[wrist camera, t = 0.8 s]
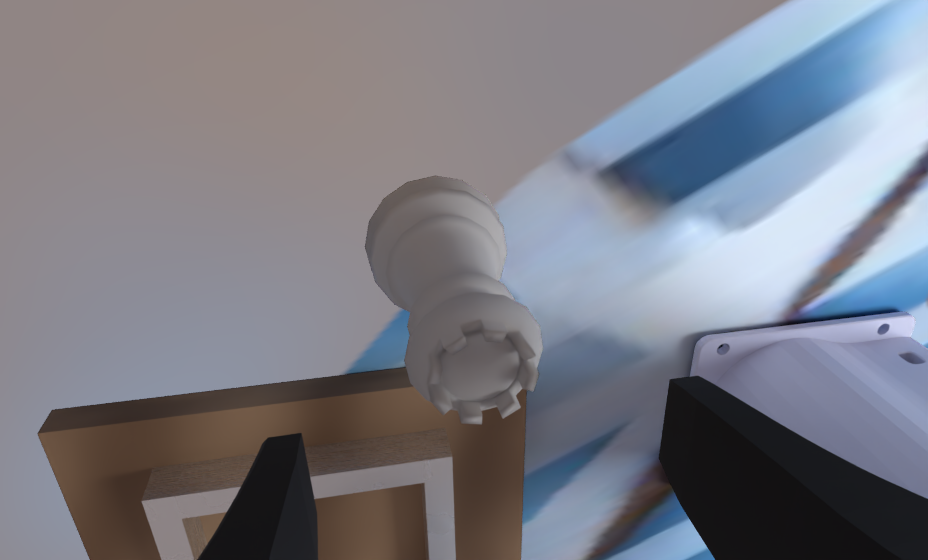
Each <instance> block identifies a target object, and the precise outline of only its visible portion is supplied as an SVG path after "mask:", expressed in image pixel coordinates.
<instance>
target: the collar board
mask: <svg viewBox="0 0 928 560" xmlns="http://www.w3.org/2000/svg"><path fill="white" fill-rule="evenodd" d="M526 394H527V390H525V389H521V391H520V392H519V393H518V394H517V395H516V397H517V399H518V402H519V404H520V407H521V408H519V409H518V410H516V411H515V412H513V413H512V414H510V415H508V416H507V417H505V418H504V419H503V418H502V416H501V414H500V412H499V410H498V407H495V408H491V409H487V410H483V411H481V412H482V424H463V423H461V421H460V417H459V414H458V411H456V410H449V411H448V412H447V413H446V414H445V415H442V414H441V413H440V411H439V410H438V409H437V408H436V407H435V406H434V405H433V404H432V403H431V402H429V401H427V400H425V398H424V397H423V396H422V395H421V394H420V393H419V392H418V391H417V390H416V389H415V387H414V386H413V385H412V384H411V383H410V380H409V376H408V372H407V369H406V368H397V369H389V370H381V371H372V372H364V373H356V374H347V375H339V376H331V377H323V378H314V379H306V380H297V381H290V382H281V383H273V384H264V385H256V386H248V387H240V388H231V389H223V390H214V391H206V392H198V393H189V394H181V395H173V396H164V397H156V398H147V399H139V400H131V401H123V402H114V403H106V404H97V405H90V406H81V407H73V408H64V409H55V410H52V411H51V413H50V414H49V416H48V418H47V419H46V421H45V422H44V424H43V425H42V427H41V429H40V431H39V432H38V436H39V439H40V441H41V443H42V446H43V448H44V451H45V453H46V455H47V458H48V460H49V463H50V465H51V467H52V470H53V472H54V474H55V477H56V479H57V482H58V484H59V487H60V489H61V491H62V494H63V496H64V499H65V501H66V503H67V506H68V508H69V511H70V513H71V515H72V518H73V520H74V523H75V525H76V527H77V530H78V532H79V535H80V537H81V539H82V542H83V544H84V547H85V549H86V551H87V554H88V556H89V559H90V560H197V559H198V558H199V556H200V555H201V553H202V552H203V550H204V549H205V547H206V545H207V544H208V542H209V541H210V539H211V538H212V536H213V535H214V533H215V531H216V530H217V528H218V526H219V524H220V523H221V521H222V519H223V518H224V516H225V514H226V512H227V511H228V509H229V507H230V506H231V504H232V502H233V500H234V499H235V497H236V495H237V493H238V491H239V489H240V488H241V486H242V484H243V482H244V480H245V478H246V476H247V474H248V472H249V470H250V468H251V466H252V464H253V462H254V460H255V458H256V456H257V454H258V452H259V450H260V447H261V445H262V443H263V442H264V441H265V440H266V439H267V438H268V437H275V436H282V435H289V434H296V433H302V437H303V443H304V448H305V453H306V458H307V463H308V468H309V473H310V479H311V484H312V489H313V494H314V499H315V504H316V509H317V524H318V560H521V541H522V512H523V482H524V453H525V423H526Z"/></svg>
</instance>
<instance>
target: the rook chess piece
mask: <svg viewBox="0 0 928 560" xmlns="http://www.w3.org/2000/svg"><path fill="white" fill-rule="evenodd" d="M365 249H366V252H367V255H368V259H369V263H370V266H371V270H372V272H373V276H374V279H375V282H376V283H377V285H378V286H379V287H380V288H381V289H382V290H383V292H384V293H385V294H386V295H387V296H388V298H389V299H390V300H391V301H392V302H393V303H394V304H395V305H397V306H399V307H401V308H403V309H405V310H407V311H409V312H410V316H409V321H408V326H407V327H408V330H409V334H410V337H409V340H408V345H407V350H406V355H405V360H404V361H405V365H406V369H407V372H408V376H409V380H410V383H411V384H412V385H413V386H414V387H415V389H416V390H417V391H418V392H419V393H420V394H421V395H422V396H423V397H424V398H425V400H427V401H429V402H431V403H432V404H433V405H434V406H435V407H436V408H437V409H438V410H439V411H440V413H441V414H442V415H445V414H446V413H447V412H448V411H449V410H456V411H458V414H459V417H460V421H461V423H463V424H482V412H481V411H483V410H487V409H491V408H495V407H498V410H499V412H500V414H501V416H502V418H503V419H504V418H505V417H507V416H508V415H510V414H512V413H513V412H515V411H516V410H518V409H519V408H521V407H520V404H519V402H518V399H517V397H516V395H517V394H518V393H519V392H520V391H521V389H525V390H529V391H533V392H534V389H535V386H536V383H537V380H538V376H539V372H538V370H537V367H538V364H539V360H540V357H541V354H542V351H543V344H542V337H541V330H540V326H539V324H538V323H537V321H536V320H535V319H534V317H533V316H532V314H531V313H530V311H529V310H528V309H527V307H525V306H523V305H521V304H520V303H518V302H516V301H515V299H514V298H513V296H512V295H511V293H510V292H509V291H508V289H507V288H506V286H505V285H504V284H503V283H501V282H499V280H500V278H501V275H502V271H503V267H504V263H505V260H506V256H507V247H506V241H505V235H504V228H503V225H502V223H501V222H500V220H499V214H498V213H497V211H496V210H495V208H494V207H493V205H492V204H491V203H490V201H489V200H488V198H487V197H486V195H485V194H484V193H482V192H481V191H479V190H477V189H476V188H474V187H473V186H471V185H469V184H468V183H466V182H465V181H463V180H458V179H453V178H446V177H439V176H432V177H427V178H423V179H419V180H414V181H410V182H407V183H405V184H404V185H402V186H401V187H399V188H398V189H397V190H395V191H394V192H392V193H391V194H389V195H388V196H387V197H385V198H384V199H383V200H382V202H381V204H380V205H379V207H378V208H377V210H376V211H375V213H374V214H373V216H372V218H371V219H370V221H369V225H368V231H367V237H366V244H365Z"/></svg>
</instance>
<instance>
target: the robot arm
mask: <svg viewBox="0 0 928 560" xmlns="http://www.w3.org/2000/svg"><path fill="white" fill-rule="evenodd" d="M915 322H916V320H915V317H913V316H912V315H910V314H909V313H907V312H894V313H886V314H878V315H870V316H861V317H853V318H845V319H836V320H828V321H820V322H812V323H803V324H795V325H787V326H779V327H770V328H762V329H754V330H745V331H737V332H729V333H721V334H712V335H707V336H704V337H702V338H701V339H699V341H698V342H697V343H696V346H695V349H694V355H693V361H692V366H691V372H690V377H684V378H677V379H671V380H670V381H669V388H668V396H667V403H666V410H665V417H664V424H663V431H662V438H661V446H660V453H659V460H660V462H661V464H662V466H663V468H664V471H665V473H666V475H667V477H668V480H669V482H670V484H671V486H672V488H673V490H674V492H675V494H676V496H677V498H678V500H679V502H680V504H681V506H682V508H683V509H684V511H685V512H686V514H687V516H688V517H689V519H690V520H691V522H692V524H693V525H694V527H695V528H696V530H697V532H698V533H699V535H700V536H701V538H702V540H703V541H704V543H705V544H706V546H707V547H708V549H709V550H710V552H711V554H712V555H713V557H714V558H715V560H928V349H927V348H926V347H924V346H923V345H921V344H920V343H918V342H917V341H915V340H914V339H912V338H911V335H912V332H913V330H914V327H915ZM721 344H724V345H723V346H722V347H721V348H720V349H718V347H719V346H720V345H721ZM197 560H318V524H317V509H316V504H315V499H314V494H313V489H312V484H311V479H310V473H309V468H308V463H307V458H306V453H305V448H304V443H303V437H302V433H296V434H289V435H282V436H275V437H268V438H267V439H266V440H265V441H264V442H263V443H262V445H261V447H260V450H259V452H258V454H257V456H256V458H255V460H254V462H253V464H252V466H251V468H250V470H249V472H248V474H247V476H246V478H245V480H244V482H243V484H242V486H241V488H240V489H239V491H238V493H237V495H236V497H235V499H234V500H233V502H232V504H231V506H230V507H229V509H228V511H227V512H226V514H225V516H224V518H223V519H222V521H221V523H220V524H219V526H218V528H217V530H216V531H215V533H214V535H213V536H212V538H211V539H210V541H209V542H208V544H207V545H206V547H205V549H204V550H203V552H202V553H201V555H200V556H199V558H198V559H197Z"/></svg>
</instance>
